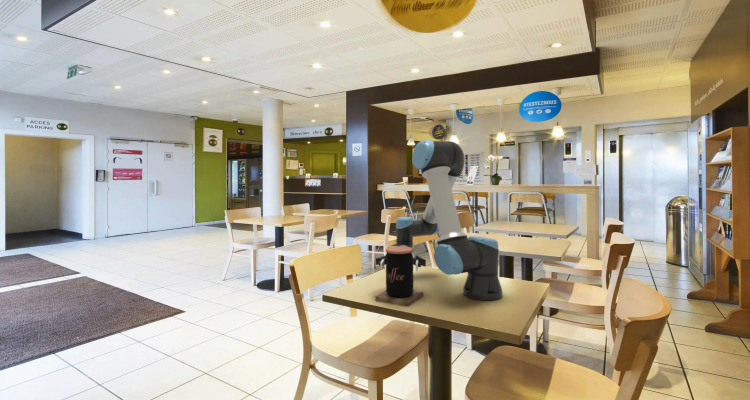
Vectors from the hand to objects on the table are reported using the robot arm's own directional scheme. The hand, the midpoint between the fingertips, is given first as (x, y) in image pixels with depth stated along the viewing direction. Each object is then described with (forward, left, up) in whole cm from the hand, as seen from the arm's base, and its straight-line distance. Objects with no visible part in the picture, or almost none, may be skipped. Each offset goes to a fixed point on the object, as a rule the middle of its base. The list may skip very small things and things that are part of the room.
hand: (398, 266), depth 146 cm
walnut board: (+1, -2, -13) cm, 13 cm away
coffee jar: (+1, -3, -12) cm, 12 cm away
